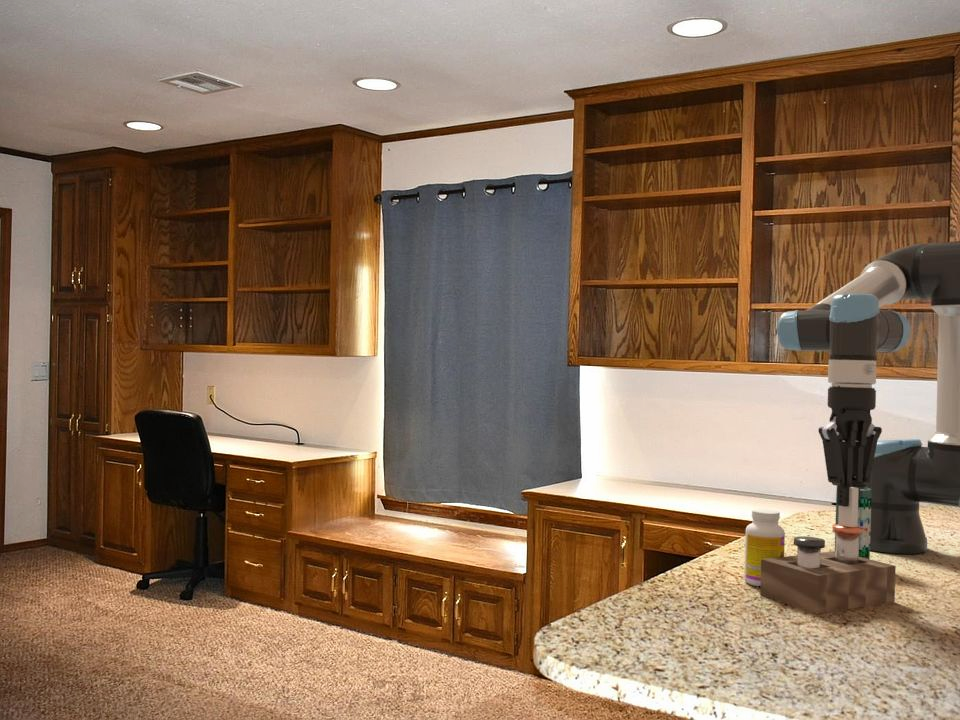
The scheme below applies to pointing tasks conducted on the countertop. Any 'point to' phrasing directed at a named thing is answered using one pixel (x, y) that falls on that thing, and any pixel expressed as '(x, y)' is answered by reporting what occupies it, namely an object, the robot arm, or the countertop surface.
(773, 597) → the wooden holder block
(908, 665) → the countertop surface
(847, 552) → the rust plunger
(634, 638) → the countertop surface
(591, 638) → the countertop surface
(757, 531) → the supplement bottle
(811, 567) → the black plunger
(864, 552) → the can
